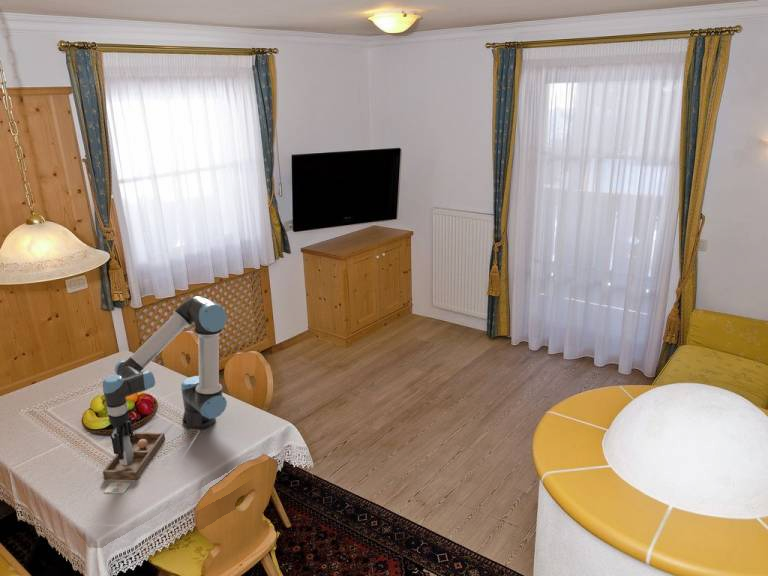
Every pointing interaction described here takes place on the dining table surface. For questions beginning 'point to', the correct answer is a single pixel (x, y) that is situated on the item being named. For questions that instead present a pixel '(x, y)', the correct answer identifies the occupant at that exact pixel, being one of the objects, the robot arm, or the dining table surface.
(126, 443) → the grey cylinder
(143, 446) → the ball
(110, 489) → the card
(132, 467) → the tray
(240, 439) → the dining table surface
